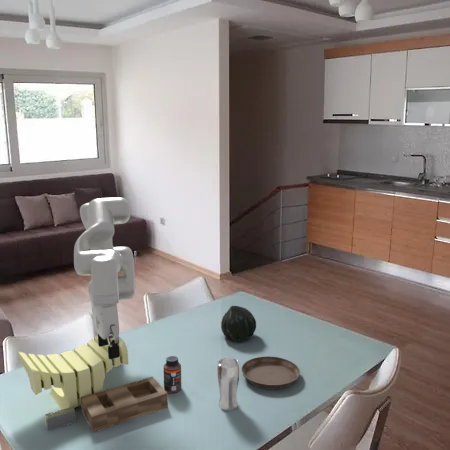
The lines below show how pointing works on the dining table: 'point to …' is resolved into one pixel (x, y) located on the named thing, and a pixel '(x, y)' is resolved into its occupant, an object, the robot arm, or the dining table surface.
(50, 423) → the grey stone block
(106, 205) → the robot arm
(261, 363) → the plant saucer
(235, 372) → the beer glass
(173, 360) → the supplement bottle
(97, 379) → the slatted curved stool
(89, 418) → the socket block
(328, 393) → the dining table surface
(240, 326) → the squash
